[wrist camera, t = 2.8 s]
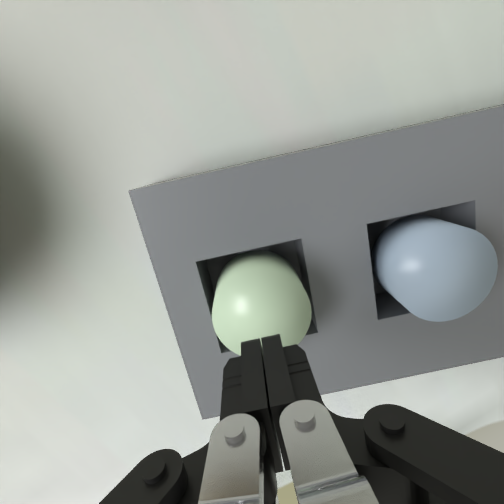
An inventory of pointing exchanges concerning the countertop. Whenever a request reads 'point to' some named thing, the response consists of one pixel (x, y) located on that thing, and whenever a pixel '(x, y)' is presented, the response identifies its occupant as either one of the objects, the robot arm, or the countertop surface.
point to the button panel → (333, 247)
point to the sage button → (260, 301)
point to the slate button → (434, 266)
